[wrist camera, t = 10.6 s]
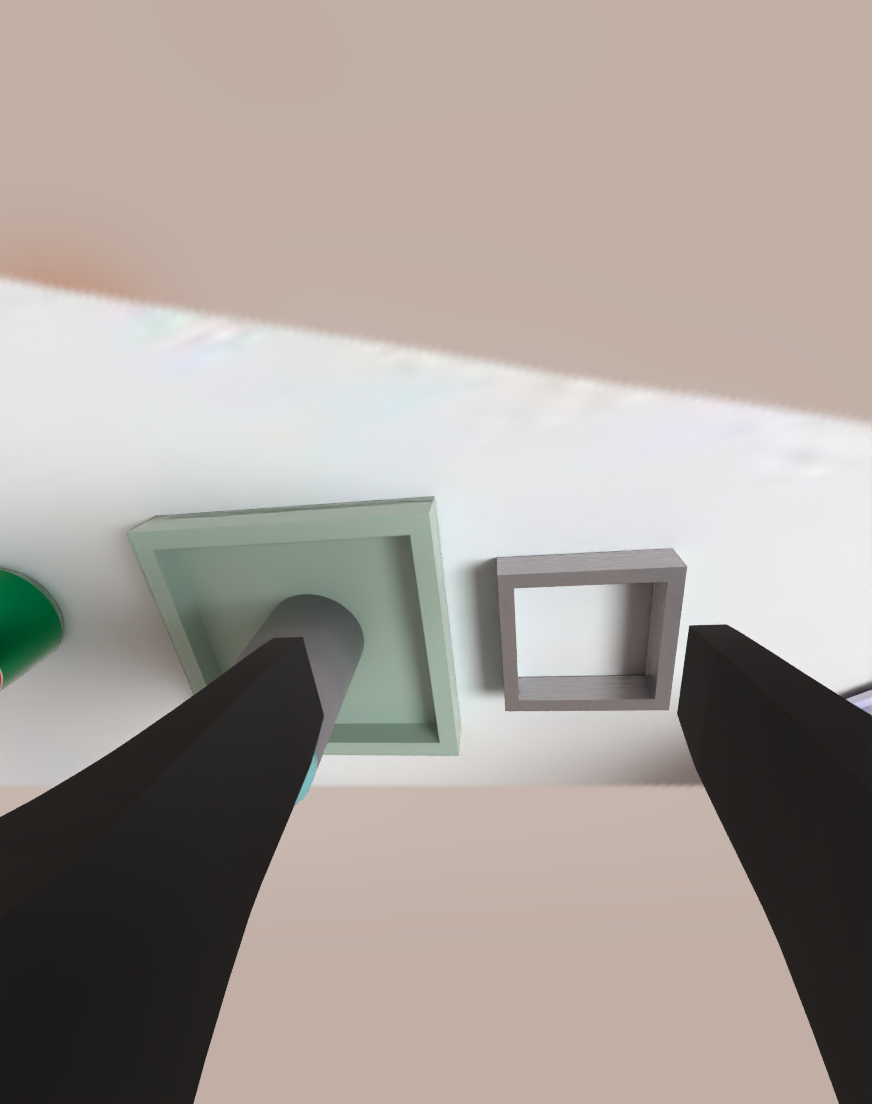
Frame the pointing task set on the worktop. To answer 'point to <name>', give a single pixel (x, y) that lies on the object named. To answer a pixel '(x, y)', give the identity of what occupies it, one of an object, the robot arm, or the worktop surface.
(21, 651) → the soda can
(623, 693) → the collar
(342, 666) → the cylinder
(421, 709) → the tray
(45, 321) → the worktop surface
